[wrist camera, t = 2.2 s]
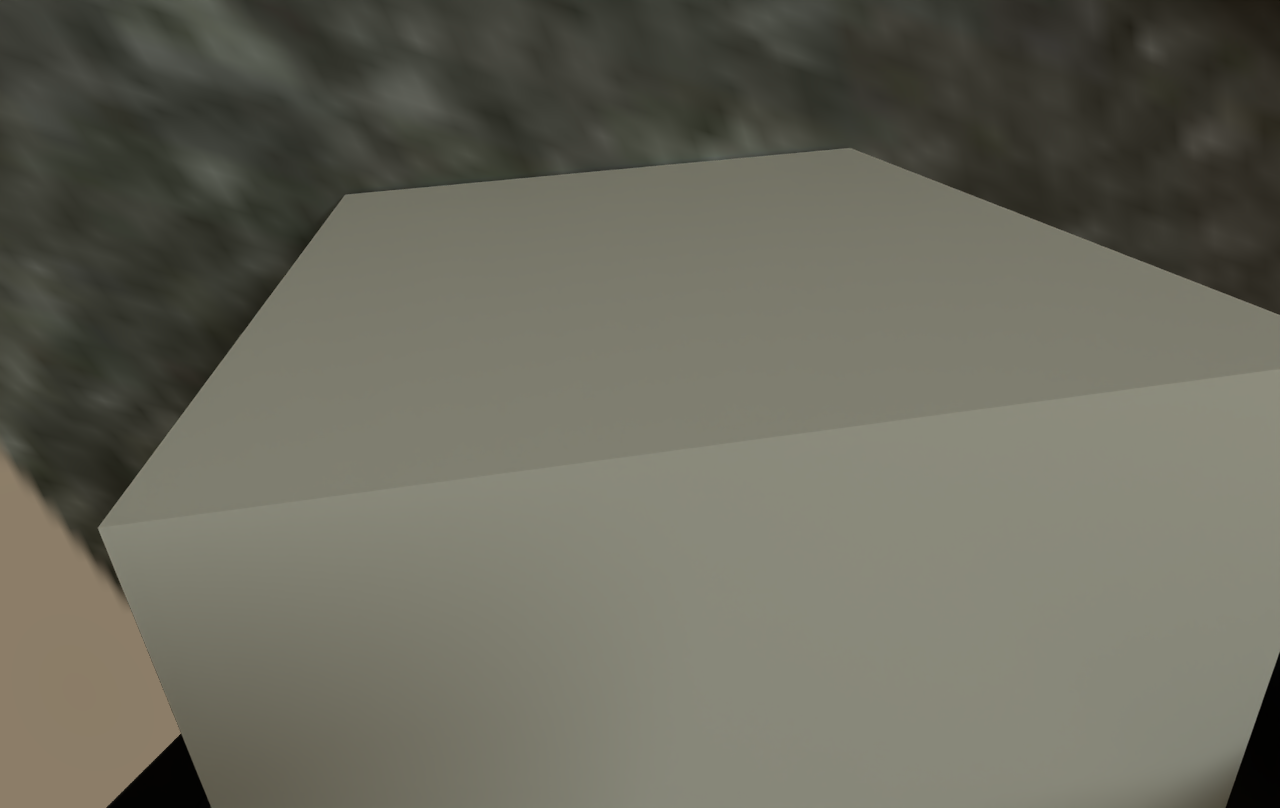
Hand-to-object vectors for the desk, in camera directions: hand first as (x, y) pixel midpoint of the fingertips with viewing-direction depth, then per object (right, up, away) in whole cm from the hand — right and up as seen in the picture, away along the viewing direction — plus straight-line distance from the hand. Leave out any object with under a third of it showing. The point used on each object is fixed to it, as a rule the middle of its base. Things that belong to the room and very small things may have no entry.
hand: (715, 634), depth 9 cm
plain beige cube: (-1, +3, +5) cm, 6 cm away
